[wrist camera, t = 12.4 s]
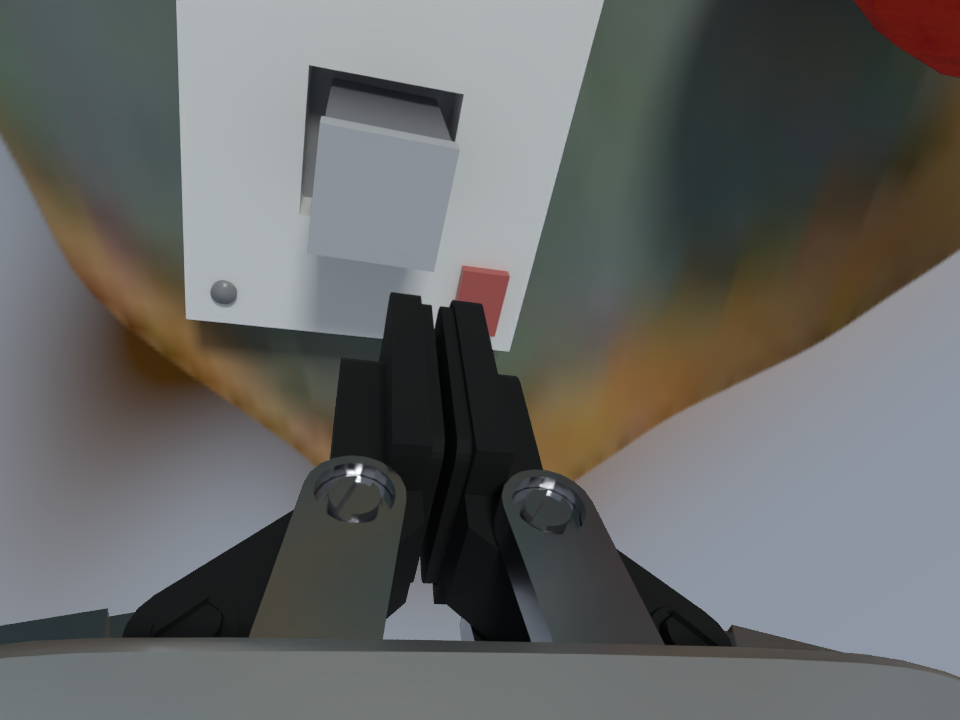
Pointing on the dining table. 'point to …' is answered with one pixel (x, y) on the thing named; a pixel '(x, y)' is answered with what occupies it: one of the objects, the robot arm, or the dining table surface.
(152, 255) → the dining table surface
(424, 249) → the plug
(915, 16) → the apple
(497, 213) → the socket plate
